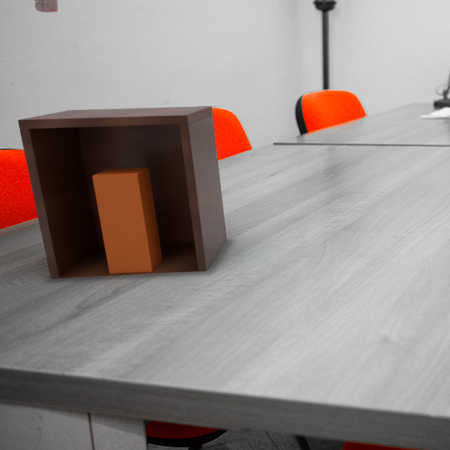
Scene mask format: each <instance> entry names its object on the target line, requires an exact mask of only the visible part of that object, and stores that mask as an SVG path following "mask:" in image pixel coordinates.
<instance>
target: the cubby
mask: <svg viewBox="0 0 450 450" xmlns="http://www.w3.org/2000/svg"><path fill="white" fill-rule="evenodd" d="M213 112H214V111H213V106H212V105H204V106H203V105H201V106H169V107H166V106H165V107H164V106H163V107H135V108H133V107H131V108H99V109H98V108H97V109H67V110H62V111H58V112H52V113H47V114H42V115H37V116H32V117H26V118H21V119H18V120H17V123H18V128H19V133H20V134H19V135H20V139H21V144H22V149H23V152H24V157H25V162H26V167H27V172H28V176H29V177H28V178H29V181H30V185H31V190H32V194H33V195H32V196H33V200H34V205H35V210H36V214H37V221H38V225H39V229H40V233H41V239H42V244H43V249H44V254H45V257H46V263H47V267H48V272H49V277H50V279H51V280H59V279H78V278H79V279H80V278H96V277H97V278H99V277H100V278H101V277H115V276H116V277H118V276H119V277H120V276H138V275H159V274H179V273H201V272H207V271H209V269H210V267H211V266H212V264H213V262H214V261H215V259H216V258H217V257H218V255H219V254H220V252H221V251H222V249H223V248H224V247H225V245H226V243H227V242H228V237H227V227H226V220H225V219H226V218H225V211H224V202H223V193H222V185H221V176H220V166H219V158H218V149H217V139H216V132H215V131H216V130H215V123H214V115H213ZM123 168H149V173H150V180H151V186H152V193H153V200H154V207H155V213H156V220H157V227H158V234H159V240H160V247H161V254H162V262H161V263H160V264H159V265H158V266H157V267H156V268H155V269H154V270H153V272H140V273H120V274H110V273H109V268H108V262H107V256H106V251H105V245H104V239H103V234H102V228H101V222H100V217H99V211H98V206H97V200H96V194H95V189H94V183H93V177H92V176H93V175H95V174H97V173H99V172H101V171H104V170H106V169H123Z"/></svg>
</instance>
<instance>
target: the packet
mask: <svg viewBox="0 0 450 450" xmlns="http://www.w3.org/2000/svg"><path fill="white" fill-rule="evenodd" d="M92 177H93V183H94V189H95V194H96V200H97V206H98V211H99V217H100V222H101V228H102V234H103V239H104V245H105V251H106V256H107V262H108V268H109V273H110V274H120V273H140V272H153V270H154V269H155V268H156V267H157V266H158V265H159V264H160V263H161V262H162V254H161V247H160V240H159V234H158V227H157V220H156V213H155V207H154V200H153V193H152V186H151V180H150V173H149V168H123V169H106V170H104V171H101V172H99V173H97V174H95V175H93V176H92Z"/></svg>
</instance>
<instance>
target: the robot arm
mask: <svg viewBox="0 0 450 450" xmlns="http://www.w3.org/2000/svg"><path fill="white" fill-rule="evenodd" d="M34 2H35V3H34V9H36V11H38V12H42V13H57V12H58V10H59V5H58V3H59V2H58V0H34Z"/></svg>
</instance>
